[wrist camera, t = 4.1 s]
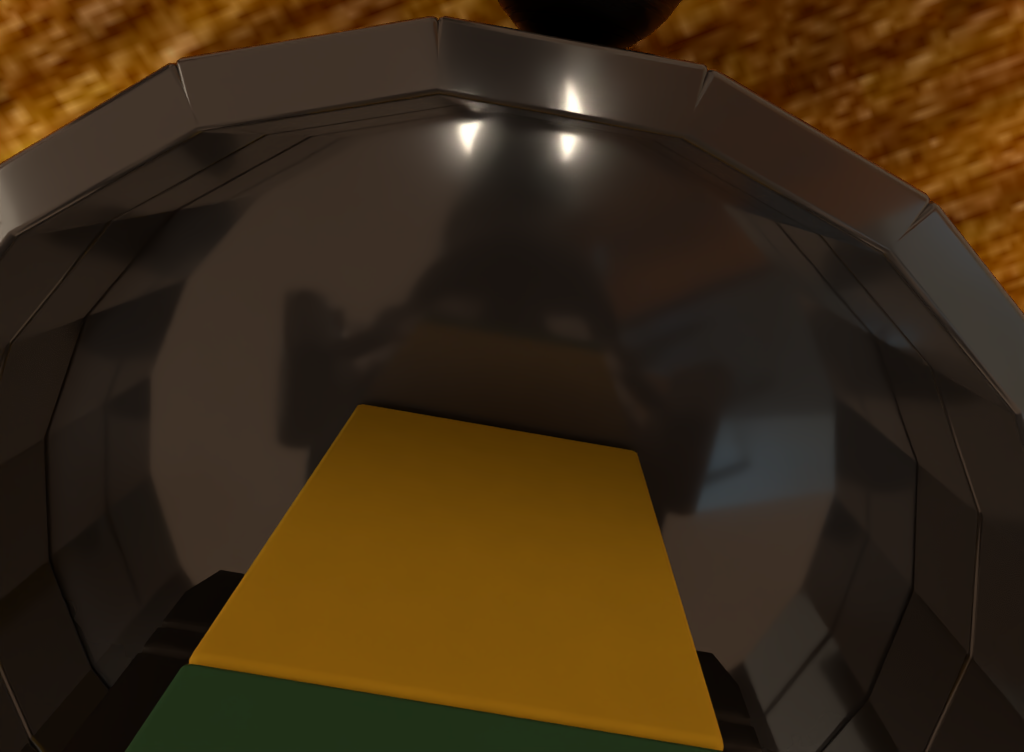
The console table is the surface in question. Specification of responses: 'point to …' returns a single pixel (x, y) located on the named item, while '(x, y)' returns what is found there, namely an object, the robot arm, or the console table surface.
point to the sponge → (450, 608)
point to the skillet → (513, 358)
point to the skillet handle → (591, 18)
